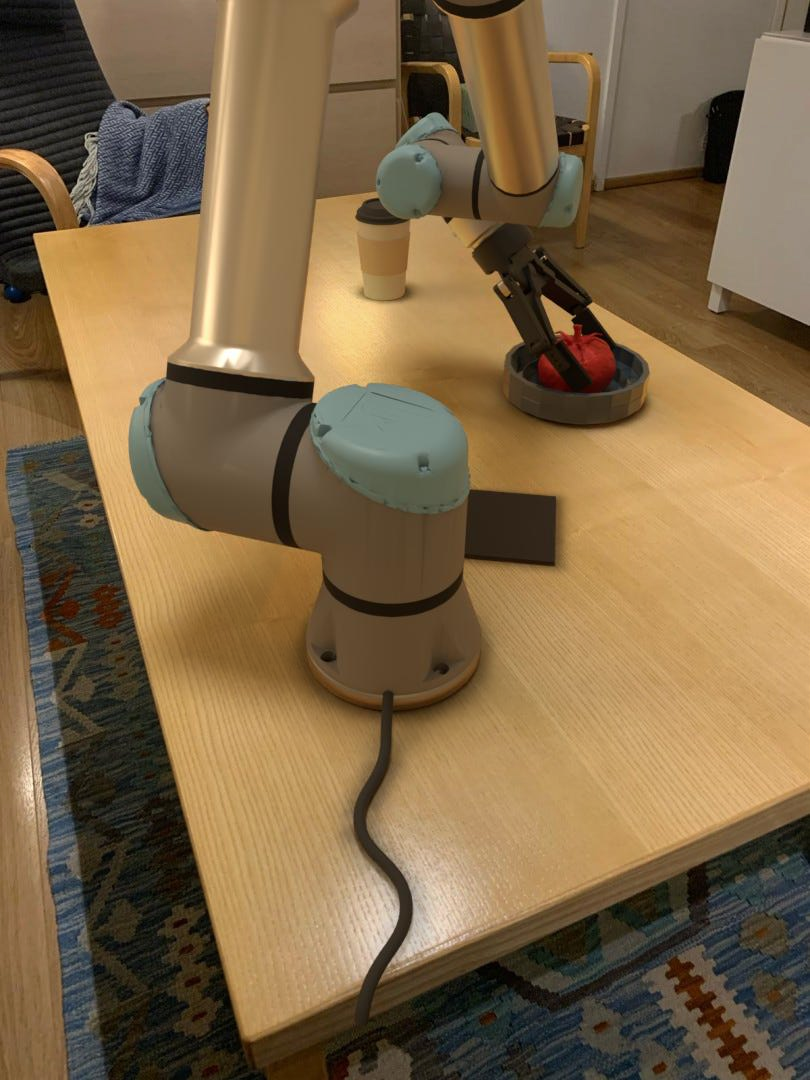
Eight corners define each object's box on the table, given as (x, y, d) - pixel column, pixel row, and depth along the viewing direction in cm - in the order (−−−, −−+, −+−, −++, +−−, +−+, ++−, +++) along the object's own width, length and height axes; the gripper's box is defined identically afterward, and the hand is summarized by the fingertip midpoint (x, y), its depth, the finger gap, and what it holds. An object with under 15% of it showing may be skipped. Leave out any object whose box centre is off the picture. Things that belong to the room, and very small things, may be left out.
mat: (554, 566, 87) (555, 562, 87) (434, 555, 88) (434, 551, 88) (555, 499, 96) (556, 496, 96) (447, 490, 98) (447, 487, 98)
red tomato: (625, 400, 114) (636, 332, 109) (558, 413, 111) (566, 344, 106) (585, 369, 122) (594, 304, 116) (522, 381, 119) (528, 315, 113)
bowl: (648, 433, 108) (654, 400, 106) (498, 422, 111) (501, 390, 108) (638, 369, 123) (643, 339, 121) (506, 360, 125) (508, 331, 123)
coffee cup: (347, 297, 145) (343, 203, 136) (374, 280, 152) (372, 190, 143) (395, 306, 142) (394, 211, 133) (420, 288, 148) (421, 197, 140)
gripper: (503, 225, 121) (598, 350, 125) (434, 279, 104) (547, 422, 107) (543, 189, 116) (641, 321, 120) (478, 240, 99) (595, 391, 102)
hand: (596, 369), depth 113 cm, fingers open, 11 cm apart
